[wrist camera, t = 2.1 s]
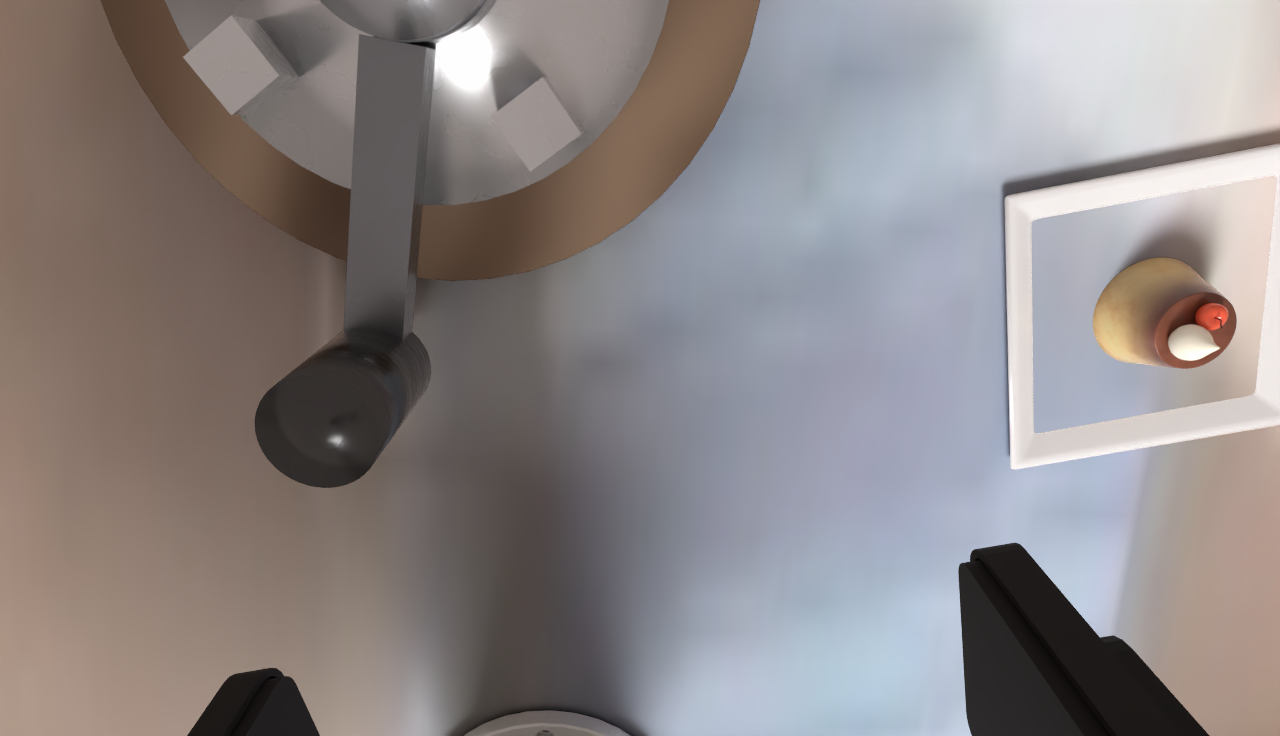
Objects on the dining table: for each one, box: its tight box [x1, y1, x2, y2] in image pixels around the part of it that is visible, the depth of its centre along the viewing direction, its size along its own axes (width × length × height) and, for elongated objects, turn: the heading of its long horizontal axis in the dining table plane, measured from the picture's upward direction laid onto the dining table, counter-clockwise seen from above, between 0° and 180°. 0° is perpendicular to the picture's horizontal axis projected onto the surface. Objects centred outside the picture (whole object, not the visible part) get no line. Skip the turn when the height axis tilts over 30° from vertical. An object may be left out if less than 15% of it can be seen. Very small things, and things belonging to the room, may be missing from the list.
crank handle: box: [165, 0, 669, 488], centre depth 22 cm, size 24×16×7 cm
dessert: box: [1004, 143, 1280, 470], centre depth 29 cm, size 12×12×5 cm
